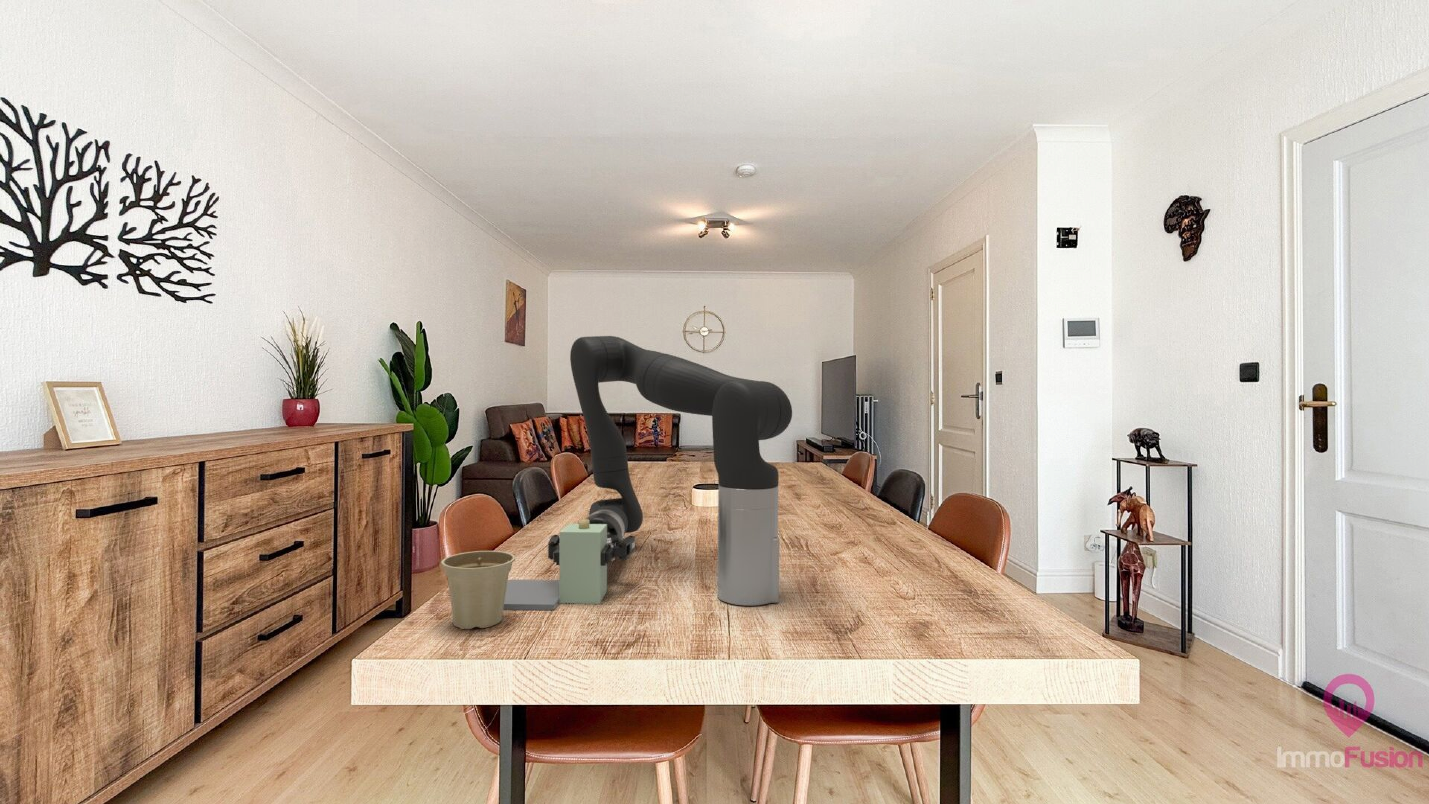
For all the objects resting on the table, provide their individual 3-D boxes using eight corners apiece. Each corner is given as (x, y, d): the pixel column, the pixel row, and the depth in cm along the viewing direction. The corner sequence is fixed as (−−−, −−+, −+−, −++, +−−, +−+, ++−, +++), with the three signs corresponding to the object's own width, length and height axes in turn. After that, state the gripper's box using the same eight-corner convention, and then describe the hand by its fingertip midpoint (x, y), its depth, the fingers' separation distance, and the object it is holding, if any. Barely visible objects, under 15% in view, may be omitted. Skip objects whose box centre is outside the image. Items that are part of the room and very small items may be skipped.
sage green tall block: (606, 591, 102) (607, 516, 102) (599, 603, 96) (600, 524, 96) (568, 591, 102) (568, 516, 102) (559, 603, 96) (559, 524, 96)
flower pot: (525, 612, 93) (526, 551, 92) (497, 636, 83) (497, 569, 83) (462, 609, 94) (462, 549, 93) (427, 633, 84) (427, 566, 84)
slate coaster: (572, 585, 105) (572, 580, 105) (554, 610, 93) (554, 604, 93) (498, 584, 105) (498, 579, 105) (470, 609, 93) (470, 603, 93)
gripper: (559, 512, 114) (532, 533, 97) (642, 513, 113) (629, 534, 97) (559, 555, 114) (532, 583, 97) (641, 556, 114) (628, 584, 97)
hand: (580, 558), depth 97 cm, fingers closed on sage green tall block, 6 cm apart
